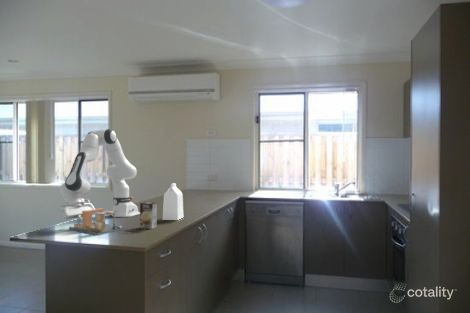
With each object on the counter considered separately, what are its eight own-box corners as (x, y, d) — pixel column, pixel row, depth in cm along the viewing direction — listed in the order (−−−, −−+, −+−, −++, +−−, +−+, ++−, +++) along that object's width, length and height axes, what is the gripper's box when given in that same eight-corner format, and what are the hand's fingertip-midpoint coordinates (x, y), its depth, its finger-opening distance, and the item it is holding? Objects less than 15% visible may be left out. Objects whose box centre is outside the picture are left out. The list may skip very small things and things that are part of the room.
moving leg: (100, 223, 225) (100, 208, 225) (104, 224, 223) (104, 208, 223) (82, 227, 214) (82, 210, 214) (86, 228, 212) (86, 211, 212)
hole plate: (97, 223, 235) (97, 220, 235) (124, 229, 220) (125, 225, 220) (69, 229, 218) (69, 225, 218) (97, 235, 203) (97, 231, 203)
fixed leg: (91, 223, 230) (91, 207, 230) (117, 228, 216) (117, 211, 216) (73, 227, 219) (73, 209, 219) (99, 232, 205) (99, 214, 205)
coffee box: (139, 228, 224) (139, 203, 223) (144, 226, 230) (144, 201, 230) (152, 229, 221) (152, 203, 221) (157, 226, 227) (157, 202, 227)
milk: (177, 221, 247) (178, 184, 247) (162, 220, 249) (162, 184, 249) (183, 218, 259) (183, 183, 258) (169, 217, 261) (169, 182, 261)
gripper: (61, 203, 211) (70, 221, 206) (91, 199, 228) (100, 215, 223) (57, 209, 213) (66, 227, 208) (87, 205, 231) (96, 222, 226)
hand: (84, 221), depth 216 cm, fingers closed, pressing on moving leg
